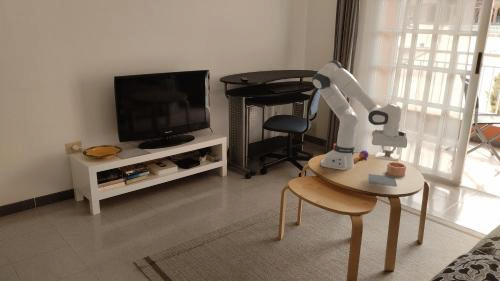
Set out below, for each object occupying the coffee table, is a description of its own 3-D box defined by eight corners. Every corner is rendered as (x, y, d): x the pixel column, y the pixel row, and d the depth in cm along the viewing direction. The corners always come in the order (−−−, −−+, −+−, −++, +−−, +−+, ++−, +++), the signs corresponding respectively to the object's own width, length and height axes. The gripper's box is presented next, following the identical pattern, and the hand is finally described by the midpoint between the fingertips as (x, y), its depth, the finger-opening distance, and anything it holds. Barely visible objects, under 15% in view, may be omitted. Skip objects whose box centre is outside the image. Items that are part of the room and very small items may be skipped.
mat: (368, 183, 231) (368, 183, 231) (368, 174, 245) (368, 173, 245) (397, 187, 227) (397, 186, 227) (394, 177, 241) (394, 176, 241)
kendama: (348, 157, 265) (361, 149, 279) (349, 165, 267) (362, 157, 280) (356, 158, 261) (369, 149, 275) (357, 166, 262) (370, 157, 276)
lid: (374, 158, 231) (375, 151, 230) (377, 153, 242) (378, 147, 241) (397, 161, 225) (398, 154, 224) (399, 156, 237) (400, 149, 236)
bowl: (387, 175, 244) (388, 166, 242) (386, 169, 254) (387, 161, 252) (405, 177, 241) (406, 168, 240) (403, 171, 251) (404, 163, 250)
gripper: (372, 130, 229) (370, 152, 233) (409, 134, 224) (406, 156, 228) (372, 128, 235) (370, 149, 239) (408, 131, 230) (405, 153, 233)
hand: (387, 153), depth 233 cm, fingers closed on lid, 3 cm apart
